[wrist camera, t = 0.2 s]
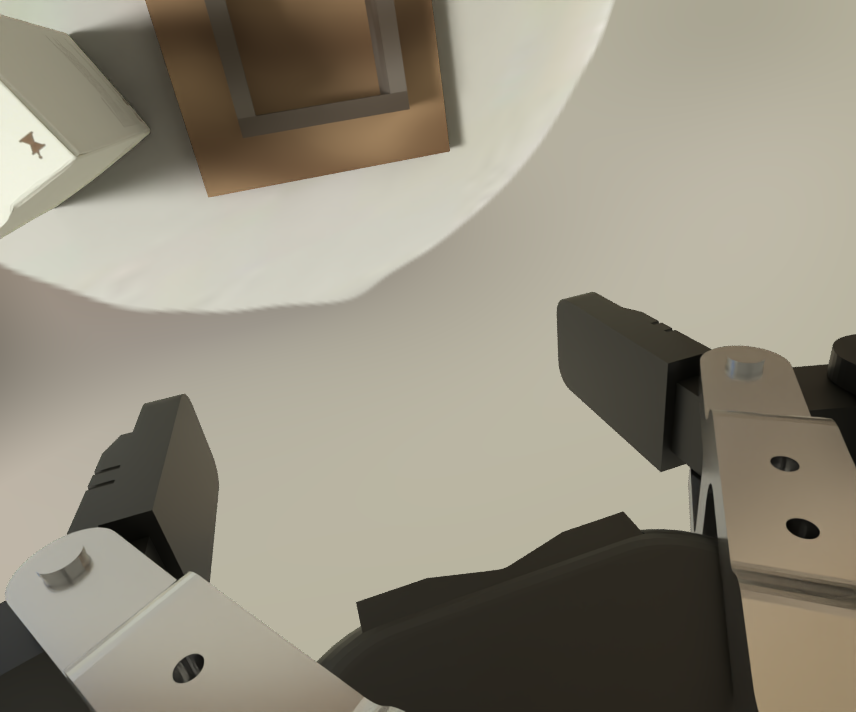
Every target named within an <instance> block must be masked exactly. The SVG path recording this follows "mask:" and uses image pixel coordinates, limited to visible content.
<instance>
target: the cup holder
mask: <svg viewBox="0 0 856 712" xmlns="http://www.w3.org/2000/svg"><path fill="white" fill-rule="evenodd" d="M145 1H146V4H147V7H148V11H149V14H150V17H151V20H152V23H153V26H154V29H155V32H156V36H157V39H158V42H159V45H160V48H161V51H162V54H163V57H164V60H165V64H166V67H167V70H168V73H169V76H170V79H171V82H172V85H173V88H174V92H175V95H176V98H177V101H178V104H179V107H180V110H181V113H182V117H183V120H184V123H185V126H186V129H187V132H188V135H189V138H190V141H191V145H192V148H193V151H194V154H195V157H196V160H197V163H198V166H199V169H200V173H201V176H202V179H203V182H204V185H205V188H206V191H207V194H208V197H213V196H219V195H224V194H229V193H234V192H239V191H245V190H250V189H255V188H260V187H266V186H271V185H276V184H281V183H287V182H292V181H297V180H302V179H307V178H313V177H318V176H323V175H328V174H334V173H339V172H344V171H349V170H355V169H360V168H365V167H370V166H376V165H381V164H386V163H391V162H396V161H402V160H407V159H412V158H417V157H423V156H428V155H433V154H438V153H444V152H449V151H450V147H449V139H448V131H447V122H446V114H445V106H444V98H443V89H442V81H441V73H440V65H439V56H438V48H437V40H436V32H435V23H434V15H433V7H432V0H145Z"/></svg>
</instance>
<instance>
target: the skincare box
mask: <svg viewBox="0 0 856 712" xmlns="http://www.w3.org/2000/svg"><path fill="white" fill-rule="evenodd" d="M149 133H150V129H149V127H148V126H147V125H146V124H145V122H144V121H143V120H142V119H141V118H140V116H139V115H138V114H137V113H136V112H135V111H134V109H133V108H132V107H131V106H130V105H129V104H128V102H127V101H126V100H125V99H124V98H123V97H122V95H121V94H120V93H119V92H118V91H117V90H116V89H115V88H114V86H113V85H112V84H111V83H110V82H109V81H108V80H107V78H106V77H105V76H104V75H103V74H102V73H101V72H100V70H99V69H98V68H97V67H96V66H95V65H94V64H93V62H92V61H91V60H90V59H89V58H88V57H87V56H86V54H85V53H84V52H83V51H82V50H81V49H80V48H79V47H78V45H77V44H76V43H75V42H74V41H73V40H72V39H71V38H70V37H69V35H68V34H66V33H64V32H60V31H56V30H53V29H50V28H46V27H42V26H39V25H35V24H32V23H28V22H25V21H22V20H18V19H14V18H11V17H7V16H4V15H0V239H1V238H3V237H4V236H6V235H8V234H9V233H11V232H13V231H14V230H16V229H18V228H20V227H21V226H23V225H25V224H26V223H28V222H30V221H31V220H33V219H35V218H37V217H38V216H40V215H42V214H44V213H46V212H48V211H49V210H51V209H53V208H55V207H56V206H58V205H59V204H61V203H62V202H64V201H65V200H66V199H68V198H69V197H71V196H72V195H73V194H75V193H76V192H77V191H79V190H80V189H82V188H83V187H84V186H86V185H87V184H88V183H90V182H91V181H92V180H94V179H95V178H96V177H97V176H99V175H100V174H101V173H102V172H104V171H105V170H106V169H107V168H109V167H110V166H111V165H112V164H114V163H115V162H116V161H117V160H119V159H120V158H121V157H122V156H123V155H125V154H126V153H127V152H128V151H130V150H131V149H132V148H133V147H134V146H136V145H137V144H138V143H139V142H140V141H141V140H143V139H144V138H145V137H146V136H147V135H148V134H149Z"/></svg>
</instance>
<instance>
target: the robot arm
mask: <svg viewBox="0 0 856 712" xmlns="http://www.w3.org/2000/svg"><path fill="white" fill-rule="evenodd" d="M557 333H558V361H559V369H560V373H561V376H562V378H563V381H564V382H565V384H566V386H567V387H568V388H569V389H570V390H571V391H572V392H573V393H574V394H575V395H576V396H577V397H578V398H580V399H581V400H582V401H583V402H584V403H585V404H586V405H587V406H588V407H589V408H591V409H592V410H593V411H594V412H595V413H596V414H597V415H598V416H599V417H601V418H602V419H603V420H604V421H605V422H606V423H607V424H608V425H609V426H610V427H612V428H613V429H614V430H615V431H616V432H617V433H618V434H619V435H620V436H622V437H623V438H624V439H625V440H626V441H627V442H628V443H629V444H630V445H632V446H633V447H634V448H635V449H636V450H637V451H638V452H639V453H640V454H641V455H642V456H644V457H645V458H646V459H647V460H648V461H649V462H650V463H651V464H652V465H654V466H655V467H656V468H657V469H658V470H659V471H660V472H662V471H665V470H668V469H672V468H675V467H678V466H680V465H684V464H687V465H688V466H689V467H690V470H689V480H688V481H689V482H688V489H689V509H690V528H691V529H690V530H691V532H686V531H678V530H665V529H648V530H640V529H638V527H637V526H636V525H635V524H634V523H633V522H632V521H631V519H630V518H629V517H628V516H627V515H626V514H625V513H624V512H620V513H617V514H615V515H612V516H609V517H606V518H603V519H600V520H597V521H594V522H591V523H588V524H585V525H582V526H580V527H576V528H573V529H570V530H568V531H565V532H562V533H561V534H559V535H557V536H556V537H554V538H553V539H551V540H549V541H548V542H546V543H545V544H543V545H542V546H540V547H539V548H537V549H535V550H534V551H532V552H531V553H529V554H527V555H526V556H524V557H523V558H521V559H519V560H518V561H516V562H515V563H513V564H512V565H510V566H508V567H506V568H504V569H500V570H493V571H486V572H477V573H468V574H459V575H451V576H443V577H434V578H426V579H423V580H420V581H418V582H414V583H411V584H409V585H406V586H403V587H400V588H397V589H394V590H391V591H388V592H385V593H382V594H379V595H376V596H373V597H370V598H367V599H364V600H362V601H359V602H356V603H357V609H358V614H359V619H360V623H361V626H360V627H359V628H357V629H356V630H354V631H353V632H351V633H349V634H348V635H347V636H345V637H344V638H343V639H341V640H340V641H339V642H338V643H336V644H335V645H334V646H333V647H332V648H331V649H330V650H328V651H327V652H326V653H325V654H324V655H323V656H322V657H321V658H320V659H319V660H318V661H317V662H316V661H315V660H313V659H312V658H311V657H309V656H308V655H306V654H305V653H304V652H302V651H301V650H300V649H298V648H297V647H296V646H294V645H293V644H292V643H290V642H289V641H288V640H286V639H285V638H283V637H282V636H281V635H279V634H278V633H277V632H275V631H274V630H273V629H271V628H270V627H268V626H267V625H266V624H264V623H263V622H262V621H260V620H259V619H258V618H256V617H255V616H254V615H252V614H251V613H249V612H248V611H247V610H245V609H244V608H243V607H241V606H240V605H239V604H237V603H236V602H235V601H233V600H232V599H230V598H229V597H228V596H226V595H225V594H224V593H222V592H221V591H220V590H218V589H217V588H216V587H214V586H213V585H211V584H210V574H211V563H212V553H213V543H214V532H215V522H216V512H217V502H218V491H219V481H218V473H217V469H216V465H215V461H214V458H213V455H212V453H211V450H210V448H209V446H208V443H207V440H206V438H205V436H204V433H203V431H202V428H201V425H200V423H199V420H198V418H197V415H196V413H195V411H194V408H193V405H192V403H191V401H190V399H189V398H188V396H187V395H186V394H181V395H177V396H173V397H169V398H166V399H161V400H157V401H153V402H149V403H145V404H144V405H143V407H142V409H141V412H140V415H139V417H138V420H137V423H136V425H135V428H134V430H133V432H132V433H128V434H124V435H121V436H120V437H119V438H118V439H117V440H116V441H115V442H114V443H113V444H112V445H111V446H110V447H109V448H108V449H107V450H106V451H105V452H104V453H103V454H102V456H101V458H100V460H99V462H98V465H97V467H96V469H95V475H93V476H92V479H91V481H90V483H89V485H88V490H87V491H86V492H85V494H84V497H83V499H82V501H81V504H80V506H79V508H78V510H77V513H76V515H75V517H74V519H73V521H72V524H71V526H70V528H69V531H68V533H67V535H66V536H64V537H61V538H59V539H58V540H55V541H53V542H52V543H50V544H48V545H47V546H45V547H43V548H42V549H40V550H39V551H38V552H36V553H35V554H34V555H33V556H31V557H30V558H29V559H28V560H26V562H24V563H23V564H22V565H21V566H20V567H19V569H18V570H17V571H16V572H15V573H14V575H13V576H12V578H11V579H10V581H9V583H8V585H7V587H6V592H5V599H6V601H4V602H2V603H0V712H856V334H855V335H849V336H845V337H842V338H840V339H838V340H836V341H835V342H834V344H833V347H832V351H831V356H830V360H829V364H827V365H816V366H803V367H792V366H791V364H790V362H789V361H788V360H787V359H785V358H784V357H782V356H781V355H779V354H777V353H774V352H771V351H769V350H765V349H761V348H756V347H749V346H724V347H718V348H715V349H710V348H708V347H706V346H704V345H702V344H701V343H699V342H697V341H695V340H693V339H691V338H689V337H687V336H686V335H684V334H682V333H680V332H678V331H676V330H674V331H673V330H672V328H670V327H669V326H667V325H665V324H663V323H659V322H658V321H657V320H656V319H654V318H652V317H650V316H648V315H646V314H645V313H643V312H639V311H635V310H631V309H627V308H623V307H620V306H619V305H617V304H615V303H613V302H612V301H610V300H608V299H606V298H604V297H602V296H601V295H599V294H597V293H595V292H590V293H586V294H582V295H579V296H574V297H570V298H567V299H562V300H561V301H560V302H559V303H558V306H557Z"/></svg>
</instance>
